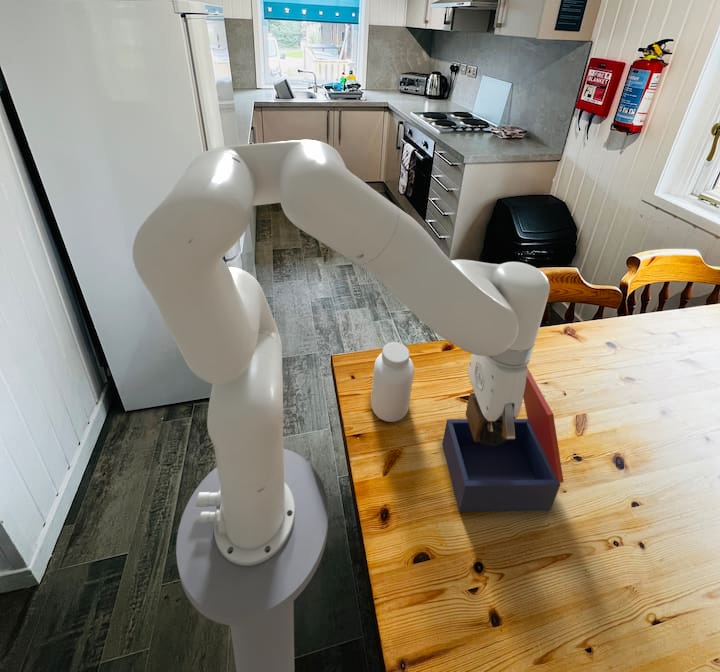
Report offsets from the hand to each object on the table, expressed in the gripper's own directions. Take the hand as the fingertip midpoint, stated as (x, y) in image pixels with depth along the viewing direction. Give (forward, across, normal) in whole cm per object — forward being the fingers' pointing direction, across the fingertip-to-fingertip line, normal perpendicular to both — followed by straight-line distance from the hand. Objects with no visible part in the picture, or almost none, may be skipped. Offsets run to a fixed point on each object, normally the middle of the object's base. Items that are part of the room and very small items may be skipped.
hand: (484, 425), depth 66 cm
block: (0, 0, 0) cm, 0 cm away
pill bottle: (+13, -14, -13) cm, 23 cm away
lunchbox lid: (-2, 0, +8) cm, 9 cm away
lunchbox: (+13, 0, +4) cm, 13 cm away
